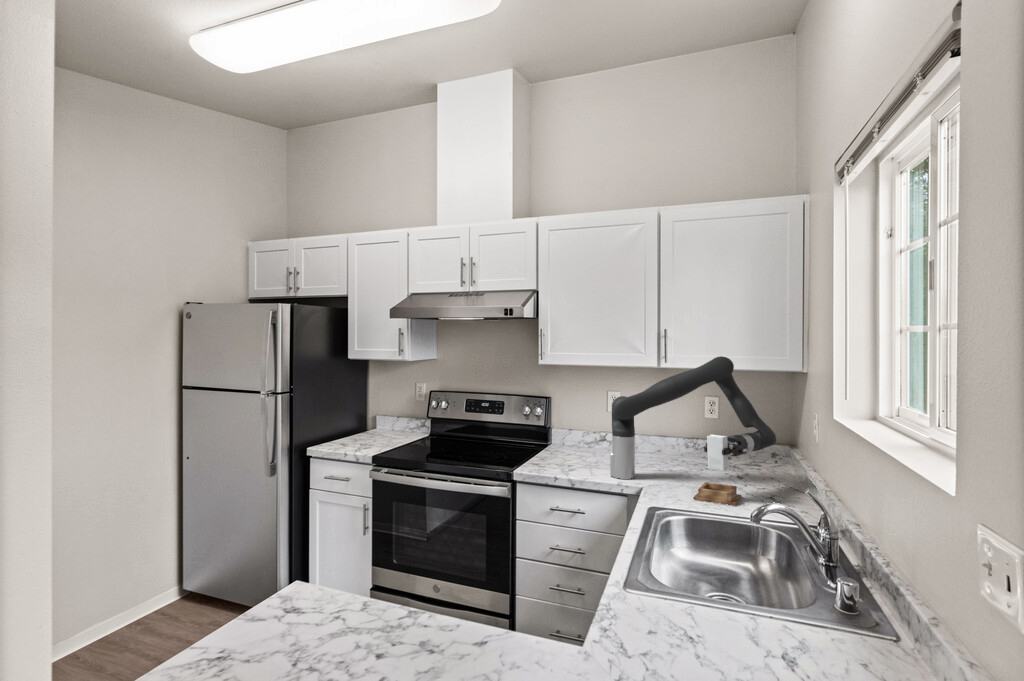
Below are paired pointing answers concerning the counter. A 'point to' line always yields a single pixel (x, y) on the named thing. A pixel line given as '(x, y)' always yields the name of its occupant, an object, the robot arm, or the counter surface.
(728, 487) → the walnut well board
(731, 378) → the robot arm
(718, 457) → the skincare box
